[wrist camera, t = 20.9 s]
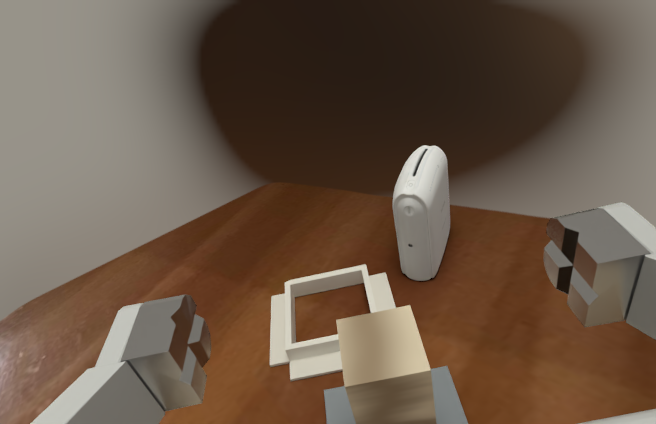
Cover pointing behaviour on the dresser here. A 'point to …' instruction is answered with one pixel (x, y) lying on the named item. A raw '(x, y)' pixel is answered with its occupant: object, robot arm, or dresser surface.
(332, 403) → the slate mat
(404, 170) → the photo printer
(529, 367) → the dresser surface
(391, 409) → the block
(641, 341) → the dresser surface
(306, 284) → the flanged square frame
